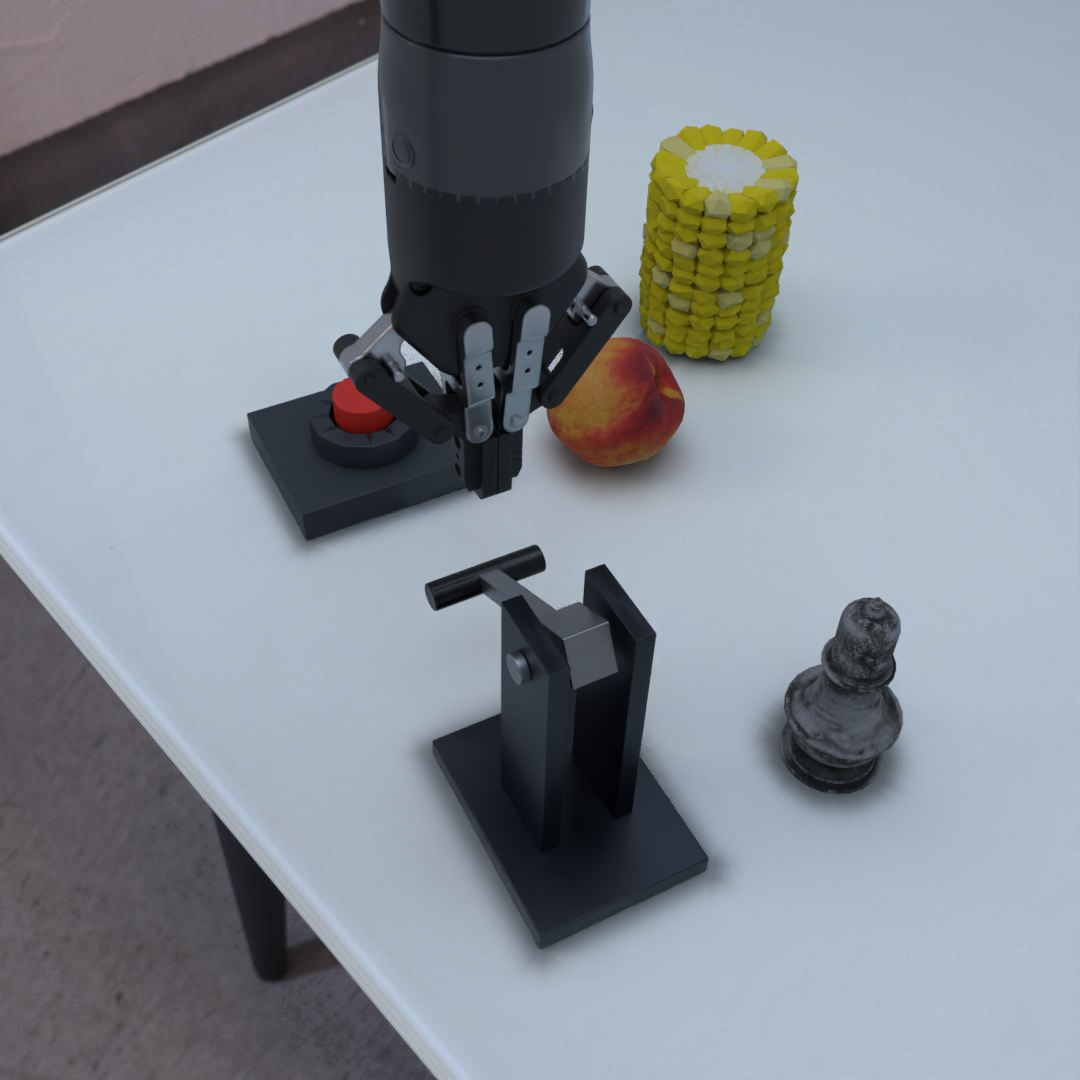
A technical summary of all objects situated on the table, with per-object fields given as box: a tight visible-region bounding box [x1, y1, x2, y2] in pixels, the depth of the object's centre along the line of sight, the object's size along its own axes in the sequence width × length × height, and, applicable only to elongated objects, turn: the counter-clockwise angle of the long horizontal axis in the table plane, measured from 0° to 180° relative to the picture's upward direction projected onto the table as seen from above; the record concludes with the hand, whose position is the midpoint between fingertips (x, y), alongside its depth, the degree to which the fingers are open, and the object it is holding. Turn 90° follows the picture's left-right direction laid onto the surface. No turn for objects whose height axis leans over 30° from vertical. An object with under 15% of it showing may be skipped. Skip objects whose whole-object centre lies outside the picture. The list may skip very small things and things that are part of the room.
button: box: [332, 376, 394, 434], centre depth 79 cm, size 4×4×2 cm
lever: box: [424, 544, 618, 690], centre depth 60 cm, size 12×6×2 cm, turn 28°
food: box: [638, 123, 800, 362], centre depth 87 cm, size 15×12×10 cm
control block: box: [246, 360, 466, 541], centre depth 81 cm, size 12×10×4 cm
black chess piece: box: [779, 596, 904, 795], centre depth 64 cm, size 6×6×12 cm
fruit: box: [546, 336, 686, 468], centre depth 80 cm, size 8×8×8 cm
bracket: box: [431, 563, 710, 950], centre depth 60 cm, size 12×9×15 cm
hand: (486, 483), depth 59 cm, fingers closed
